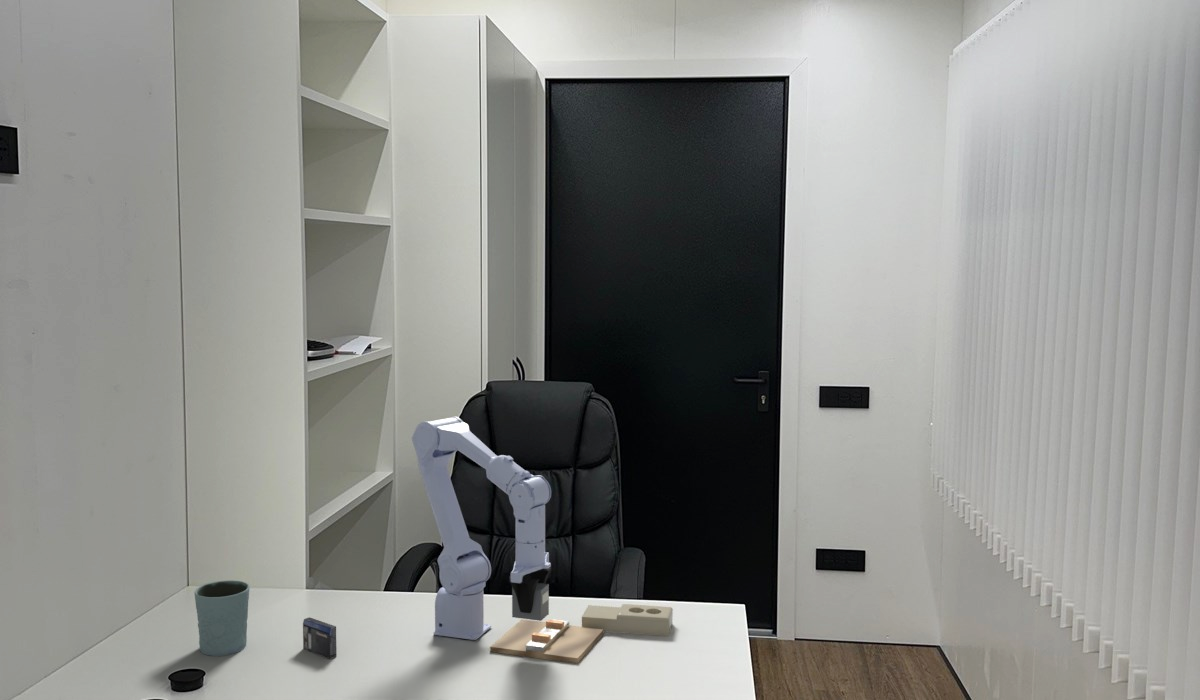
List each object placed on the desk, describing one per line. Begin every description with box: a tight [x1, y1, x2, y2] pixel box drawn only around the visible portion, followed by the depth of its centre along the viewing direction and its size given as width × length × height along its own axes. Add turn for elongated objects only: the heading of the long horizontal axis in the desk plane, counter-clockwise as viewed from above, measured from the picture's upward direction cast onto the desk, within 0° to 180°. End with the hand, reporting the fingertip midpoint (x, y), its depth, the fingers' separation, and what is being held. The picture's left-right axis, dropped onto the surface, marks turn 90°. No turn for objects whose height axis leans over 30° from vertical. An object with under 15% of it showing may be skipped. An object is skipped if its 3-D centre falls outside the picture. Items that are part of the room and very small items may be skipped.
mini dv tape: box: [302, 616, 338, 660], centre depth 197 cm, size 8×2×6 cm, turn 53°
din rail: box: [526, 618, 570, 652], centre depth 203 cm, size 4×15×2 cm, turn 162°
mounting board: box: [489, 618, 605, 664], centre depth 203 cm, size 18×16×1 cm
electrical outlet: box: [581, 603, 674, 637], centre depth 212 cm, size 7×4×18 cm
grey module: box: [511, 583, 550, 622], centre depth 198 cm, size 6×4×6 cm, turn 71°
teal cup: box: [194, 579, 251, 657], centre depth 199 cm, size 10×10×12 cm
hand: (530, 608), depth 199 cm, fingers closed on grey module, 4 cm apart
